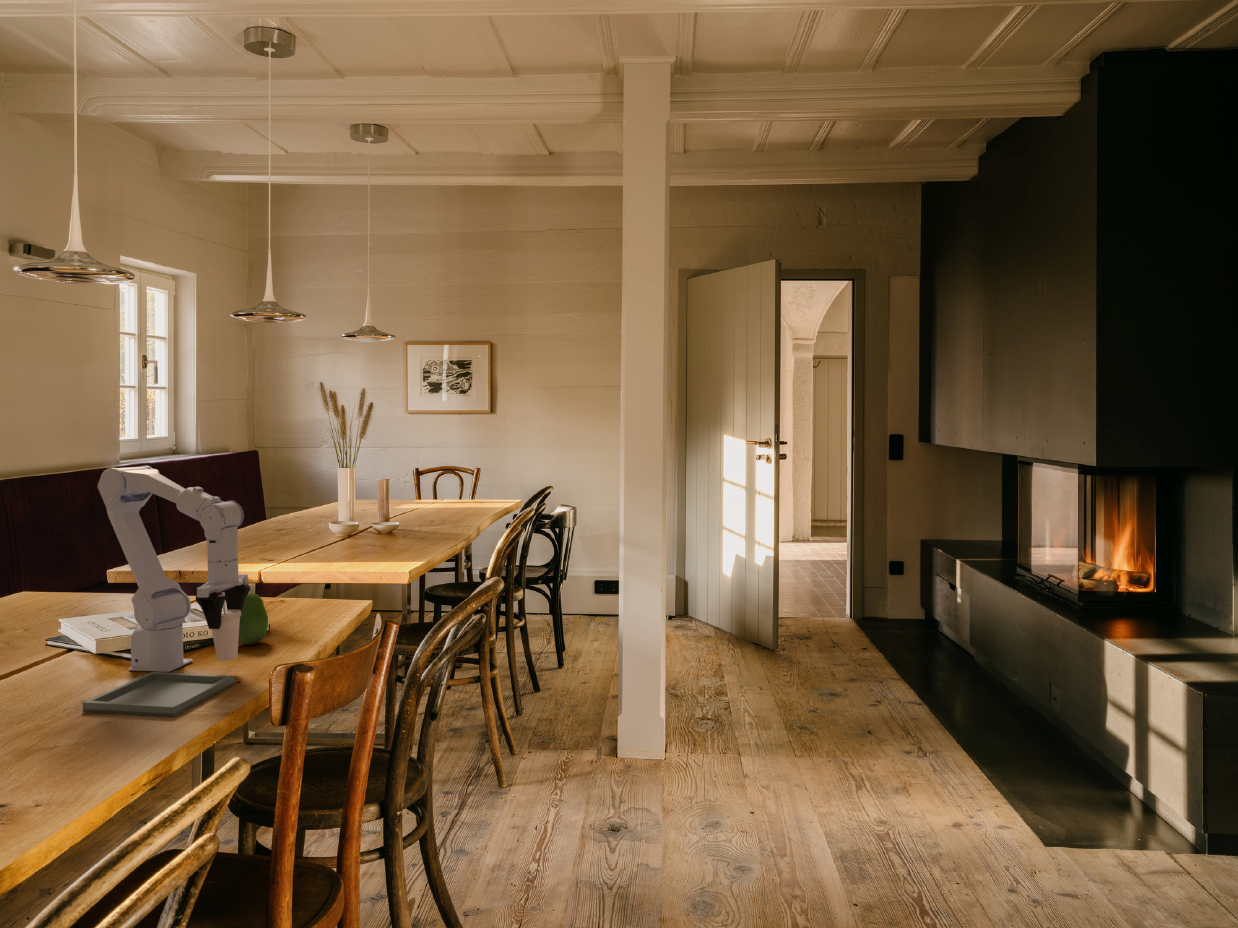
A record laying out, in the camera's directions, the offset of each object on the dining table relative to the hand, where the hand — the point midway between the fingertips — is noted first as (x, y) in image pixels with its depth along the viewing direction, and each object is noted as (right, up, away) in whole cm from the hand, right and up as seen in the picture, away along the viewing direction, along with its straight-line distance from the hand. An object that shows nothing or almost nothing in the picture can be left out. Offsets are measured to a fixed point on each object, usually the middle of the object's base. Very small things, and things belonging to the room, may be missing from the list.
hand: (224, 624), depth 169 cm
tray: (-5, -11, -14) cm, 19 cm away
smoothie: (+1, -7, 0) cm, 7 cm away
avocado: (-5, -9, +23) cm, 25 cm away
